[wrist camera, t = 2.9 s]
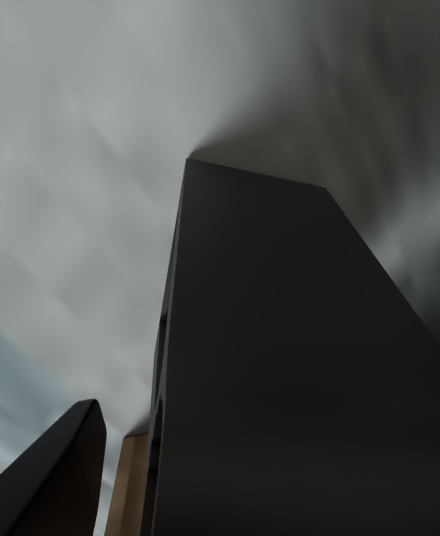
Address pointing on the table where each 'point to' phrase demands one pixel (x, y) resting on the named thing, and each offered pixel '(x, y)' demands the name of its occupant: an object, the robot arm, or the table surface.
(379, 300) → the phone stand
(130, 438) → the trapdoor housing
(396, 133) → the table surface
